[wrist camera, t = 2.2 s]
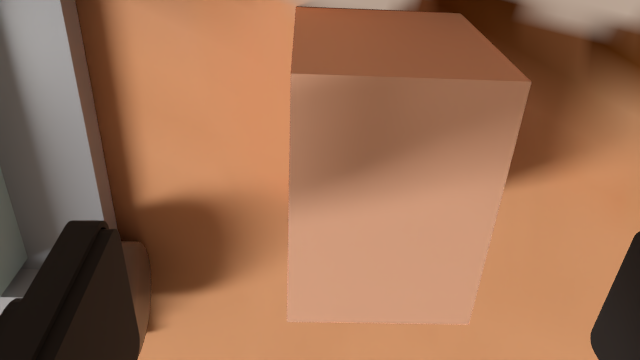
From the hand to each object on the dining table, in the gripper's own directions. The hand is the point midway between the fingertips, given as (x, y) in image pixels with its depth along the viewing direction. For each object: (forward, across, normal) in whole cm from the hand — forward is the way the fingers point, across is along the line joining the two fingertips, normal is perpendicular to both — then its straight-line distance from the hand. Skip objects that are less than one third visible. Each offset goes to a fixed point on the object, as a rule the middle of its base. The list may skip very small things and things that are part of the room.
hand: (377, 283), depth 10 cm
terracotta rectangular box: (+9, -1, +1) cm, 9 cm away
